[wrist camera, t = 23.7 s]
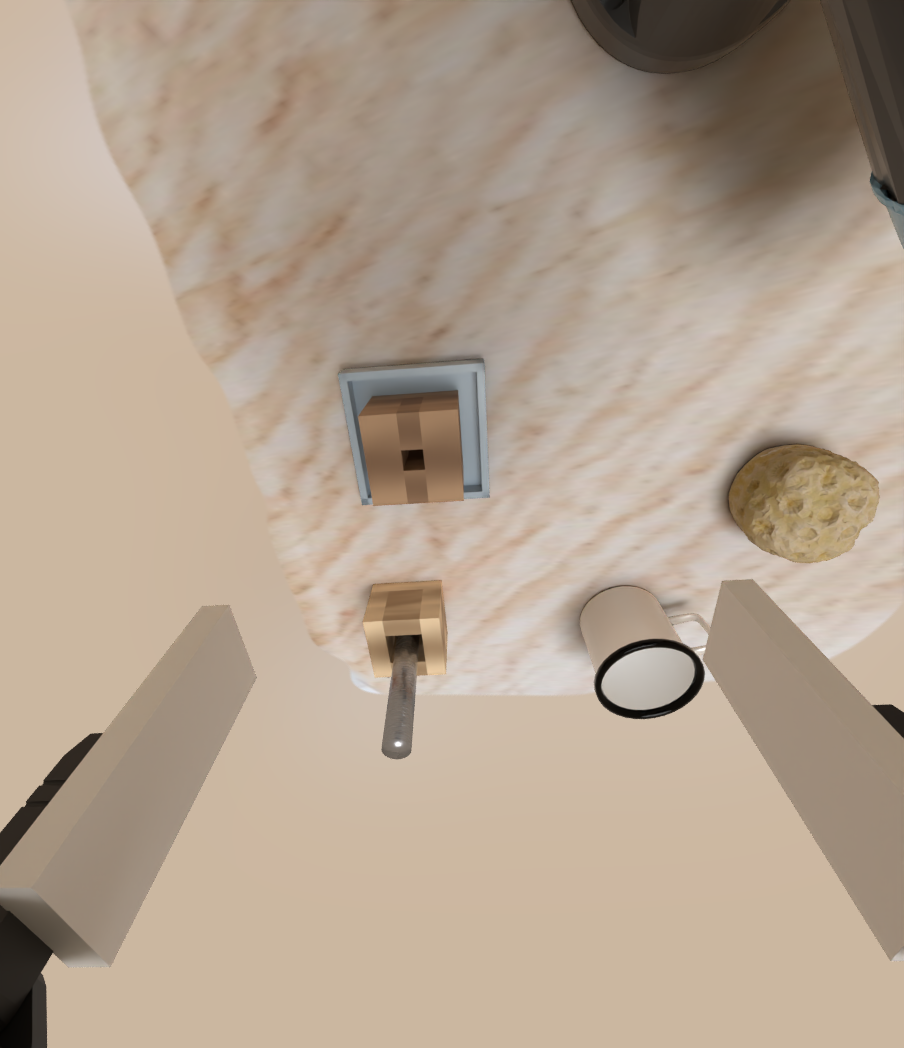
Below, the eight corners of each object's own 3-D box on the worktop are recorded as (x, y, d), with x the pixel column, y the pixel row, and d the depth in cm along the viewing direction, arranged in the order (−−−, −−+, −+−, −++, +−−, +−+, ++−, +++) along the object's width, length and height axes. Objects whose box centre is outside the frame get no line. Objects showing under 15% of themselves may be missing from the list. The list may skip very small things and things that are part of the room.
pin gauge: (397, 610, 47) (378, 741, 34) (419, 608, 47) (408, 738, 34) (401, 627, 48) (384, 760, 35) (422, 625, 48) (413, 757, 35)
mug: (582, 658, 52) (603, 728, 44) (566, 592, 47) (587, 656, 39) (693, 634, 50) (737, 703, 42) (687, 564, 46) (735, 625, 38)
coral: (781, 544, 44) (838, 593, 38) (700, 511, 43) (744, 555, 36) (855, 460, 40) (934, 498, 33) (768, 420, 39) (832, 451, 32)
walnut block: (372, 396, 38) (357, 416, 32) (458, 390, 37) (457, 409, 32) (384, 475, 41) (373, 505, 36) (463, 471, 41) (463, 500, 35)
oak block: (373, 583, 48) (362, 622, 42) (441, 579, 47) (439, 618, 42) (383, 635, 51) (374, 677, 46) (447, 632, 50) (445, 674, 45)
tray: (343, 368, 37) (337, 373, 36) (483, 358, 37) (484, 362, 35) (366, 495, 43) (362, 505, 41) (488, 488, 42) (489, 497, 40)
